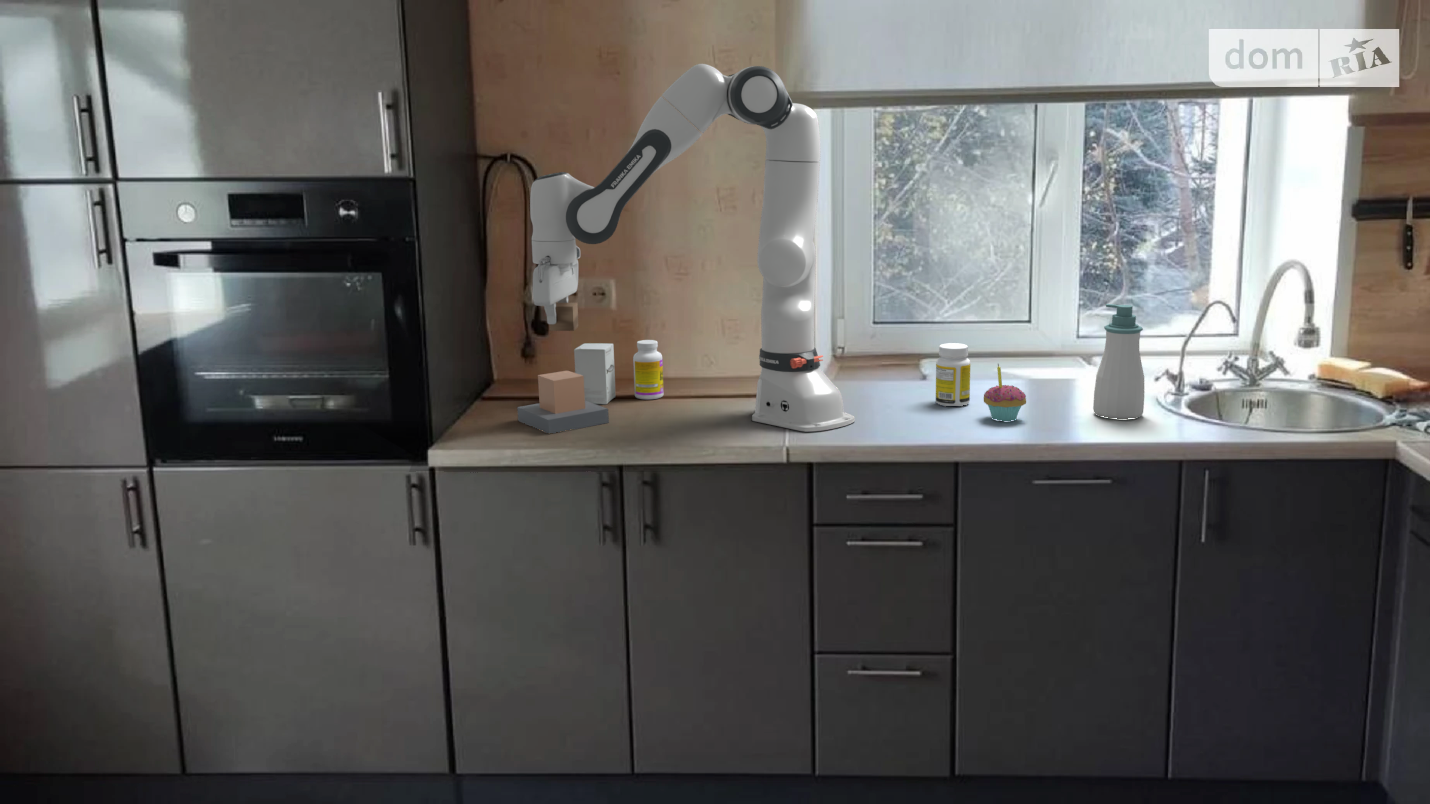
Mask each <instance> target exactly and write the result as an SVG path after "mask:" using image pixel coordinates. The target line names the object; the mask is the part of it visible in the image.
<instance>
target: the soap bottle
mask: <svg viewBox="0 0 1430 804" xmlns="http://www.w3.org/2000/svg"><path fill="white" fill-rule="evenodd" d="M1105 307H1106V308H1115V309H1116V314H1115V313H1114V314H1112V317H1111V319H1112V321H1111V322H1110V323H1109V324H1106V325H1104V326H1103V329H1104V330H1105V344H1104V345H1105V346H1104V350H1103V353H1102V356H1101V360H1100V363H1099V365H1098V369H1097V372H1096V374H1095V375H1096V376H1095V377H1096V378H1095V385H1094V391H1093V407H1092V409H1093V413H1094V412H1095V413H1094V414H1095V415H1096V414H1097V415H1099V416H1104V417H1108V418H1117V419H1128V418H1136V417H1139V418H1140V417H1142V415H1143V414H1144V408H1145V407H1144V406H1145V373H1144V368H1143V363H1142V359H1141V353H1140V340H1141V339H1140V338H1141V332H1142V331H1143V330H1144V329H1143V327H1142V326H1141V325H1139V324H1137V323H1136V322H1137V321H1136V320H1137V319H1136V318H1137V316H1136V315H1135V314H1133V305H1130V304H1114V303H1106V304H1105ZM1097 415H1096V416H1097ZM1099 416H1098V417H1099Z"/></svg>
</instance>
